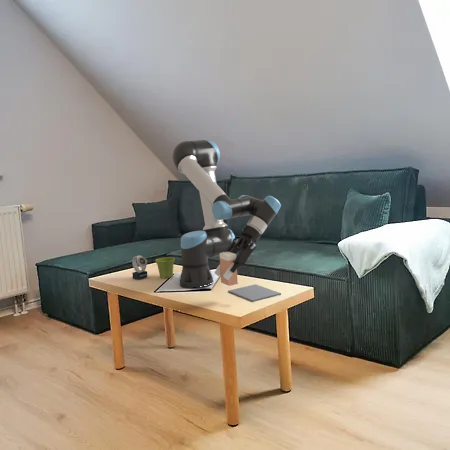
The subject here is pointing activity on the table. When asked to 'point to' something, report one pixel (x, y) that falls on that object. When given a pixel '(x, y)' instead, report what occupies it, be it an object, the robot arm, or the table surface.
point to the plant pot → (165, 267)
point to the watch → (139, 273)
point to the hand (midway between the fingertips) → (221, 276)
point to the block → (225, 263)
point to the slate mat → (254, 292)
